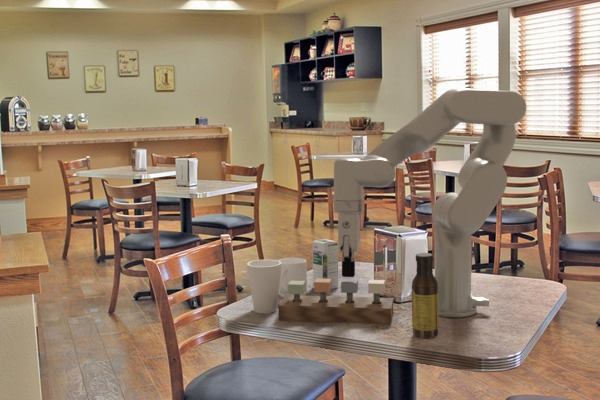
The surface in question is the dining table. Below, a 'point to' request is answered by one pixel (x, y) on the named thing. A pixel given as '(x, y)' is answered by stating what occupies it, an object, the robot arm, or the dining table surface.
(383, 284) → the cream rectangular block
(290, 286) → the sage key
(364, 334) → the dining table surface
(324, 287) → the terracotta key
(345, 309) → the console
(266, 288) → the foam cup
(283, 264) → the mug
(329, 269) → the syrup box
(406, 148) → the robot arm
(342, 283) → the slate-grey key
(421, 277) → the sauce bottle
